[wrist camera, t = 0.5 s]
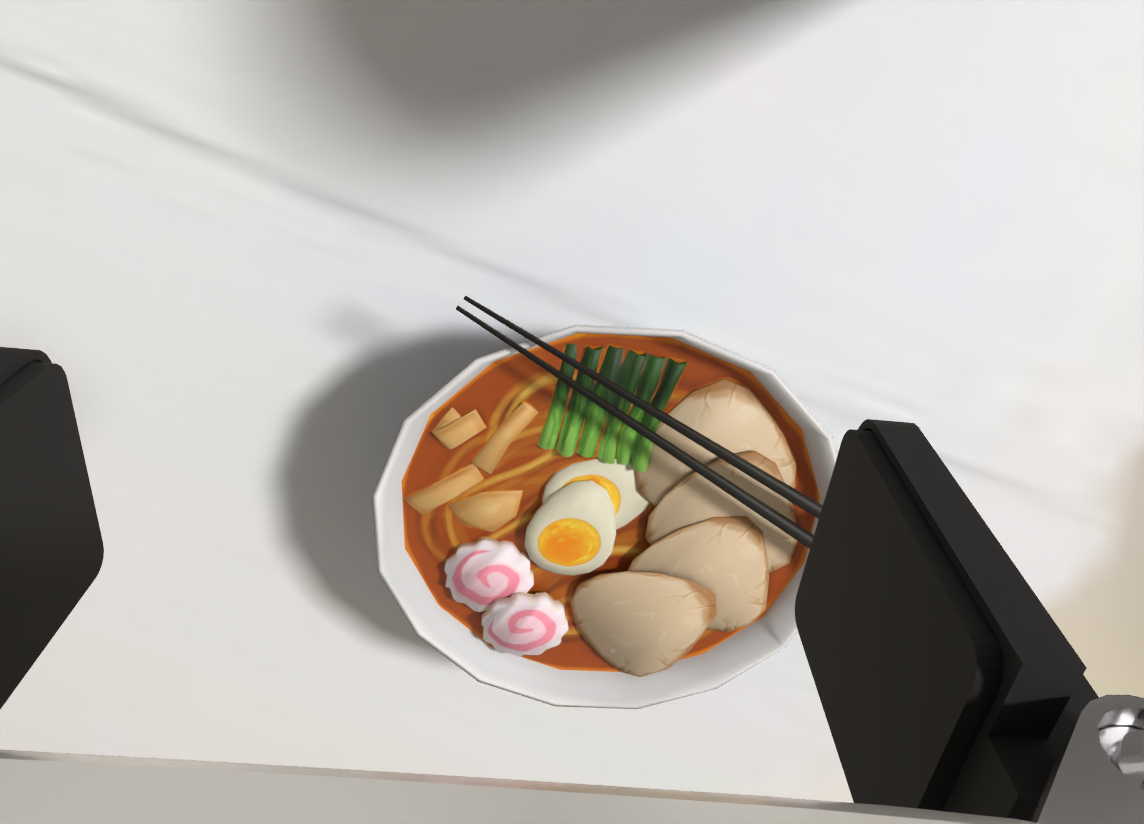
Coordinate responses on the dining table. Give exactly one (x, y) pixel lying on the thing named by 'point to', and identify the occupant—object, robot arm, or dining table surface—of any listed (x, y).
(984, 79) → the dining table surface
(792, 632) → the ramen bowl
